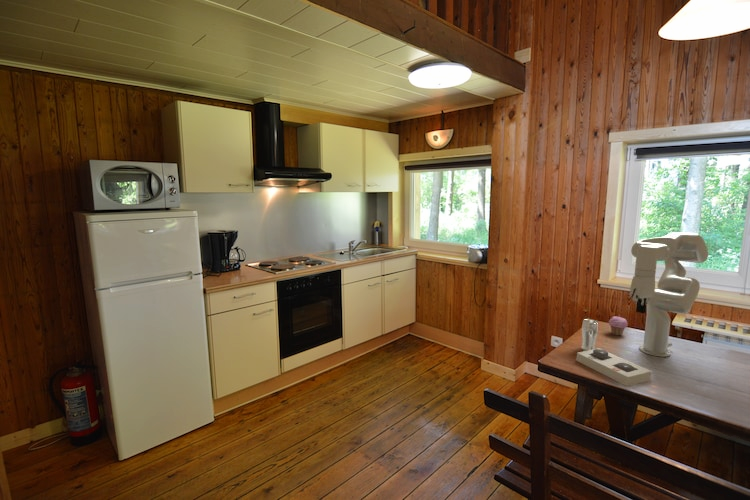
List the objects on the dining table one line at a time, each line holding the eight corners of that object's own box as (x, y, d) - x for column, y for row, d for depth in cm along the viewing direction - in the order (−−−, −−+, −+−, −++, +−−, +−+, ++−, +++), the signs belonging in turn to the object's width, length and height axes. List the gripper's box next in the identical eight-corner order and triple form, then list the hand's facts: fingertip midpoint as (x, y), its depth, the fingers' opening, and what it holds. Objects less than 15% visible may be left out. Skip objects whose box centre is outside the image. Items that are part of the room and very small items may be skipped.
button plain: (599, 354, 178) (599, 348, 178) (610, 359, 173) (611, 353, 172) (589, 356, 176) (590, 350, 176) (601, 361, 171) (601, 355, 170)
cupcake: (608, 330, 216) (610, 313, 214) (626, 333, 211) (628, 316, 209) (607, 335, 209) (608, 317, 207) (626, 338, 204) (627, 320, 202)
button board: (598, 355, 183) (599, 347, 183) (650, 379, 160) (651, 370, 159) (576, 360, 179) (577, 352, 178) (627, 386, 155) (628, 376, 155)
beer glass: (598, 352, 187) (600, 323, 184) (582, 351, 188) (585, 323, 186) (593, 346, 194) (595, 319, 191) (578, 345, 195) (580, 318, 192)
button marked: (622, 368, 167) (623, 361, 167) (636, 374, 162) (636, 367, 161) (613, 370, 165) (613, 364, 165) (626, 376, 160) (626, 370, 159)
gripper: (648, 269, 173) (643, 308, 176) (624, 272, 168) (620, 312, 171) (665, 273, 166) (660, 313, 169) (641, 276, 161) (637, 317, 164)
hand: (640, 312), depth 170 cm, fingers closed
